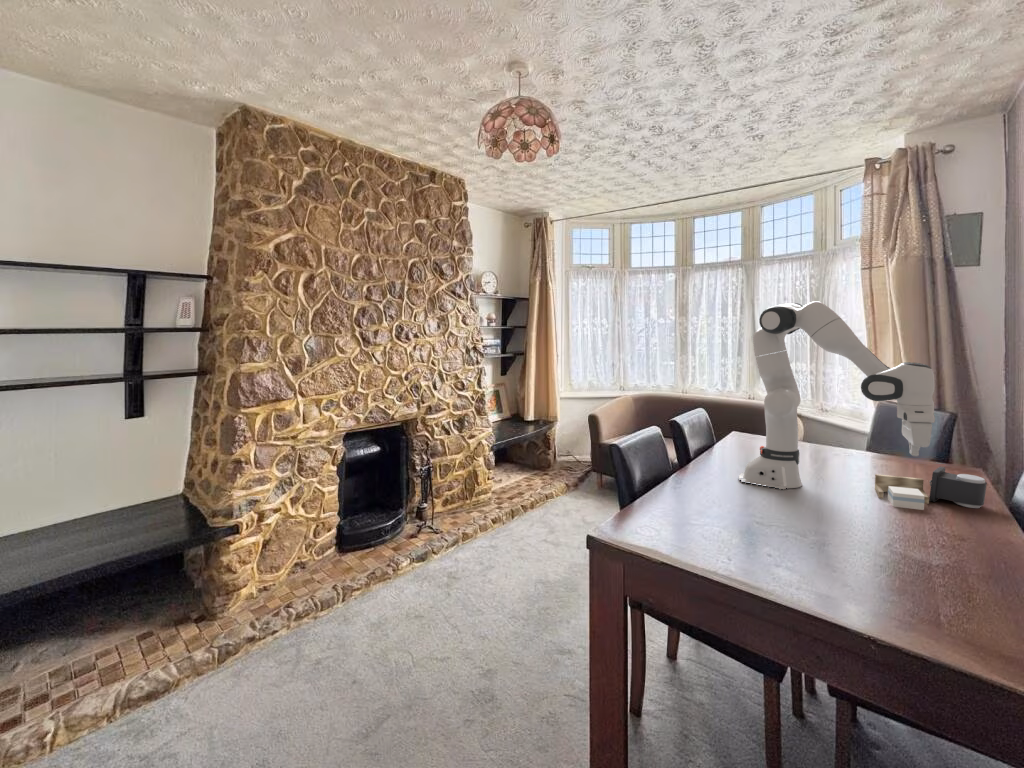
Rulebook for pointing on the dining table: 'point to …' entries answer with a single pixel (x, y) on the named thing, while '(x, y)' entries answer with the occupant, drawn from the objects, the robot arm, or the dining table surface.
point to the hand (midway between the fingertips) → (914, 455)
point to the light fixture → (958, 488)
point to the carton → (906, 497)
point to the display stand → (898, 484)
